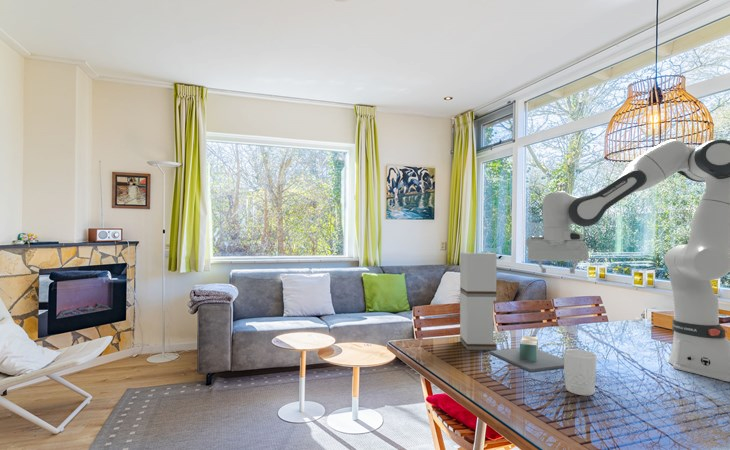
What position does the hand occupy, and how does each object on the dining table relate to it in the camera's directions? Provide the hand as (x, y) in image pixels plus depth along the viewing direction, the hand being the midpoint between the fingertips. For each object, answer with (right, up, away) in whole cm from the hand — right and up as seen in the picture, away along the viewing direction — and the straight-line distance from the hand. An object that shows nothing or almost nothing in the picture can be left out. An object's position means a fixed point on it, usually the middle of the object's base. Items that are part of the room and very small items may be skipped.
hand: (557, 273), depth 145 cm
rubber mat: (-15, -27, -13) cm, 34 cm away
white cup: (-13, -27, -39) cm, 50 cm away
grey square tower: (-28, -28, +4) cm, 40 cm away
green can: (-12, -24, -5) cm, 28 cm away
